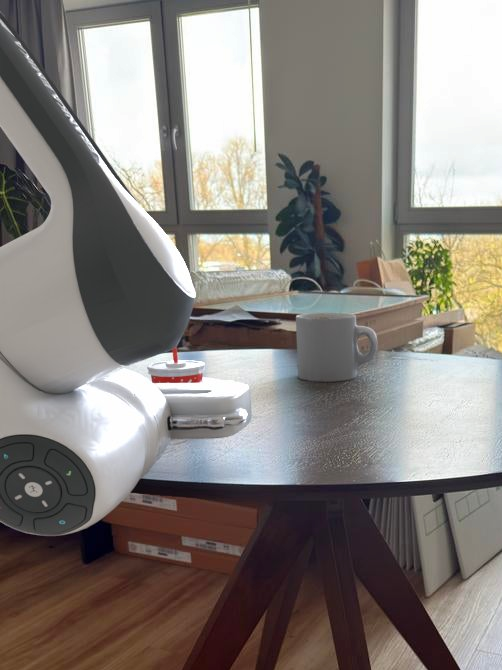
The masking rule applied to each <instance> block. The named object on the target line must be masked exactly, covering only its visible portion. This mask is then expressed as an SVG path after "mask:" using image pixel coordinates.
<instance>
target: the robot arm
mask: <svg viewBox="0 0 502 670" xmlns="http://www.w3.org/2000/svg"><path fill="white" fill-rule="evenodd" d="M0 129H1V130H2V132H3V133H4V134H5V136H6V137H7V138H8V141H10V143H11V144H12V145H13V147H14V148H15V150H16V151H17V153H18V154H19V156H20V157H21V158H22V160H23V161H24V162H25V164H26V165H27V167H28V168H29V169H30V171H31V172H32V173H33V175H34V177H35V178H36V179H37V181H38V182H39V184H40V185H41V187H43V189H44V191H45V192H46V193H47V195H48V196H49V198H50V211H49V213H48V215H47V217H46V219H45V221H43V223H42V224H40V225H39V226H38V227H36V228H34V229H32V230H30V231H29V232H27V233H24V234H22V235H20V236H19V237H17V238H15V239H13V240H11V241H9V242H7V243H4V244H3V245H2V246H0V523H2V524H4V525H5V526H7V527H10V528H11V529H13V530H16V531H18V532H22V533H25V534H30V535H36V536H44V537H57V536H65V535H69V534H73V533H77V532H80V531H83V530H85V529H88V528H90V527H91V526H93V525H95V524H96V523H98V522H99V521H101V520H103V519H104V517H106V516H107V515H108V514H110V513H111V512H112V511H113V510H115V508H117V507H118V506H119V505H120V504H121V503H123V501H124V500H125V499H126V498H127V497H128V496H129V495H130V494H131V492H132V491H133V490H134V489H135V487H136V486H137V484H138V482H139V481H140V480H141V479H142V478H143V477H144V476H146V475H147V474H148V472H149V471H150V470H151V469H152V468H153V466H154V465H155V464H156V463H157V462H158V461H159V460H160V459H161V457H162V456H163V455H164V453H165V452H166V451H167V449H168V446H169V445H170V442H171V440H205V439H207V440H209V439H211V440H213V439H223V438H229V437H233V436H234V435H236V434H238V433H240V432H241V431H243V430H244V429H245V428H246V427H247V426H248V425H249V424H250V422H251V421H252V413H253V412H252V395H251V389H250V388H251V387H250V386H249V385H248V384H245V383H243V382H234V383H152V381H150V380H149V379H148V378H147V377H145V376H143V375H142V374H140V373H137V372H135V371H132V370H129V369H126V368H122V367H129V366H132V365H135V364H136V363H140V362H142V361H146V360H148V359H150V358H153V357H156V356H158V355H161V354H164V353H167V352H169V351H172V349H174V348H176V347H178V345H179V343H180V341H181V339H182V338H183V336H184V333H185V332H186V329H187V327H188V324H189V322H190V319H191V316H192V312H193V309H194V305H195V301H196V295H197V294H196V290H195V287H194V284H193V282H192V278H191V275H190V272H189V268H188V267H187V265H186V262H185V261H184V258H183V257H182V255H181V253H180V251H179V250H178V249H177V247H176V246H175V244H174V243H173V241H172V240H171V239H170V237H169V236H168V235H167V234H166V232H165V231H164V229H162V227H161V226H160V225H159V224H158V223H157V222H156V221H155V220H154V218H153V217H151V216H150V215H149V214H148V213H147V211H145V210H144V208H143V207H142V206H141V204H140V203H139V202H138V200H137V199H136V198H135V196H134V195H133V194H132V192H131V190H129V188H128V187H127V186H126V184H125V183H124V181H123V180H122V178H121V177H120V176H119V175H118V173H117V172H116V170H115V169H114V167H113V166H112V164H111V163H110V161H109V160H108V159H107V158H106V156H105V154H104V153H103V152H102V150H101V149H100V147H99V146H98V144H97V143H96V142H95V140H94V139H93V137H92V135H91V134H90V133H89V132H88V130H87V128H86V126H84V124H83V123H82V121H81V120H80V118H79V116H77V114H76V113H75V111H74V110H73V108H72V107H71V106H70V104H69V103H68V100H66V99H65V97H64V96H63V94H62V92H61V91H60V90H59V88H58V87H57V85H56V84H55V83H54V81H53V80H52V79H51V77H50V76H49V74H48V73H47V71H46V70H45V68H44V67H43V66H42V64H41V63H40V62H39V61H38V58H36V56H35V55H34V53H33V52H32V51H31V49H30V48H29V47H28V45H27V44H26V42H25V41H24V40H23V38H22V37H21V36H20V35H19V33H18V32H17V31H16V29H15V28H14V27H13V25H12V24H11V23H10V21H9V20H8V19H7V17H6V16H5V15H4V14H3V13H2V11H1V10H0Z"/></svg>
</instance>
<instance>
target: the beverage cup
mask: <svg viewBox="0 0 502 670" xmlns="http://www.w3.org/2000/svg"><path fill="white" fill-rule="evenodd" d="M177 347H178V346H177ZM177 347H176V348H174V349H172V350H171V352H172V359H173V360H164V361H157V362H152V363H149V364H148V365H147V366H146V369H147V371H148V372H147V374H148V375H150V378H151V383H203V378H204V376H203V375H204V373H205V366H206V365H205V362H203V361H200V360H190V359H189V360H187V359H184V360H183V359H179V358H178V348H177Z"/></svg>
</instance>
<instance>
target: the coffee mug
mask: <svg viewBox="0 0 502 670" xmlns="http://www.w3.org/2000/svg"><path fill="white" fill-rule="evenodd" d="M295 329H296V331H295V332H296V333H295V334H296V354H297V377H298V378H299V379H300V380H303V381H309V382H323V383H324V382H325V383H330V382H331V383H333V382H343V381H350V380H353V379H356V378H357V376H358V369H359V368H360V366H362V365H365V364H367V363H369V362H371V361H372V360H373V359H374V358H375V357H376V355H377V351H378V345H379V344H378V337H377V333H376V332H375V330H374V329H373V328H371V327H368V326H363V325H357V316H356V314H354V313H345V312H344V313H341V312H313V313H301V314H297V315H296V316H295ZM362 335H363V336H366V337H367V338H368V340H369V350H368V351H367V353H362V352H361V351H360V350H359V347H358V341H359V338H360V337H361V336H362Z"/></svg>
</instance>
